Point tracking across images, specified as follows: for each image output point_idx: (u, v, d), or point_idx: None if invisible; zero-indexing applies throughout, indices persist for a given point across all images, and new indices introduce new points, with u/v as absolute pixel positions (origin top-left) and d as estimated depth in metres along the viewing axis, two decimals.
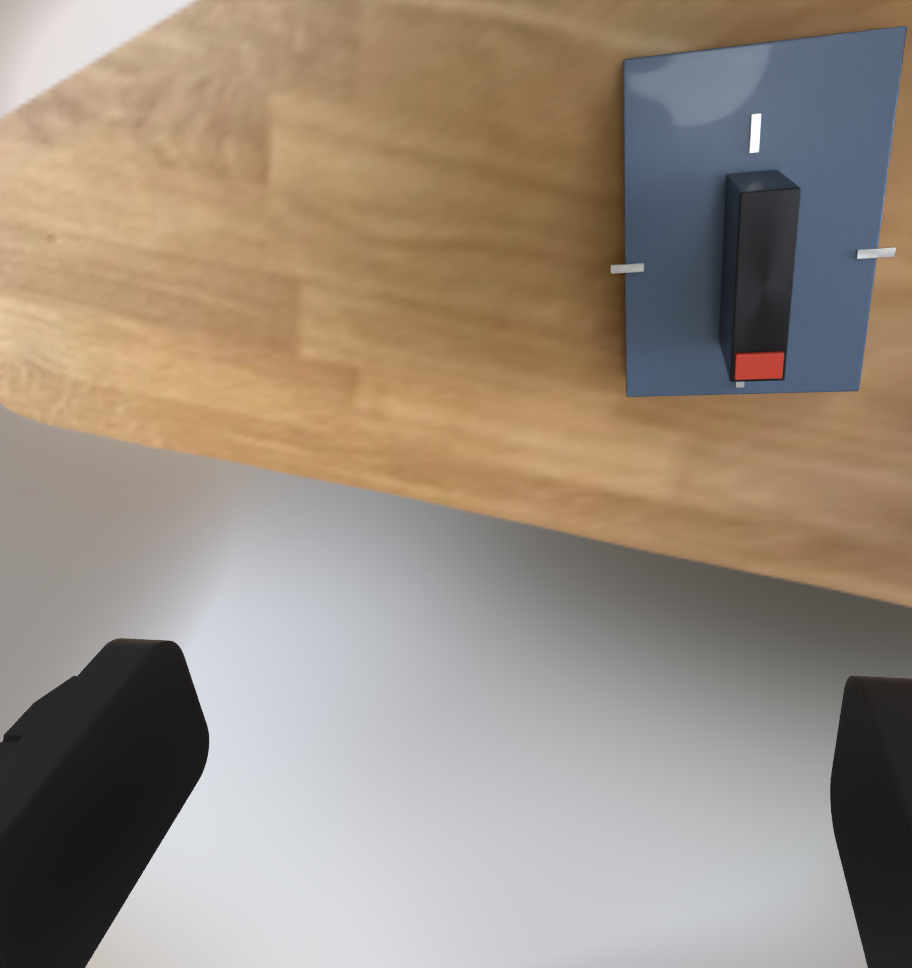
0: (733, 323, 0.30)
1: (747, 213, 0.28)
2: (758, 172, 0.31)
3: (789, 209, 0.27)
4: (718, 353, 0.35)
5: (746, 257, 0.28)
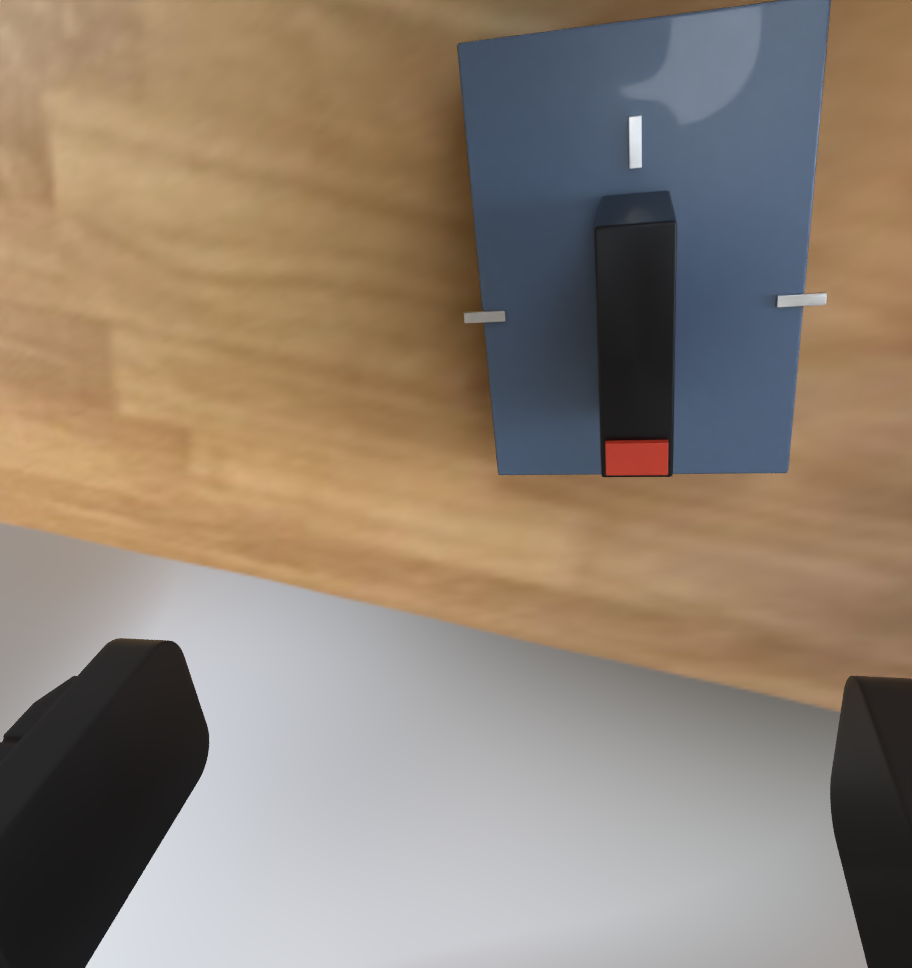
0: (599, 401, 0.22)
1: (606, 256, 0.20)
2: (641, 194, 0.23)
3: (662, 251, 0.20)
4: None
5: (609, 315, 0.21)
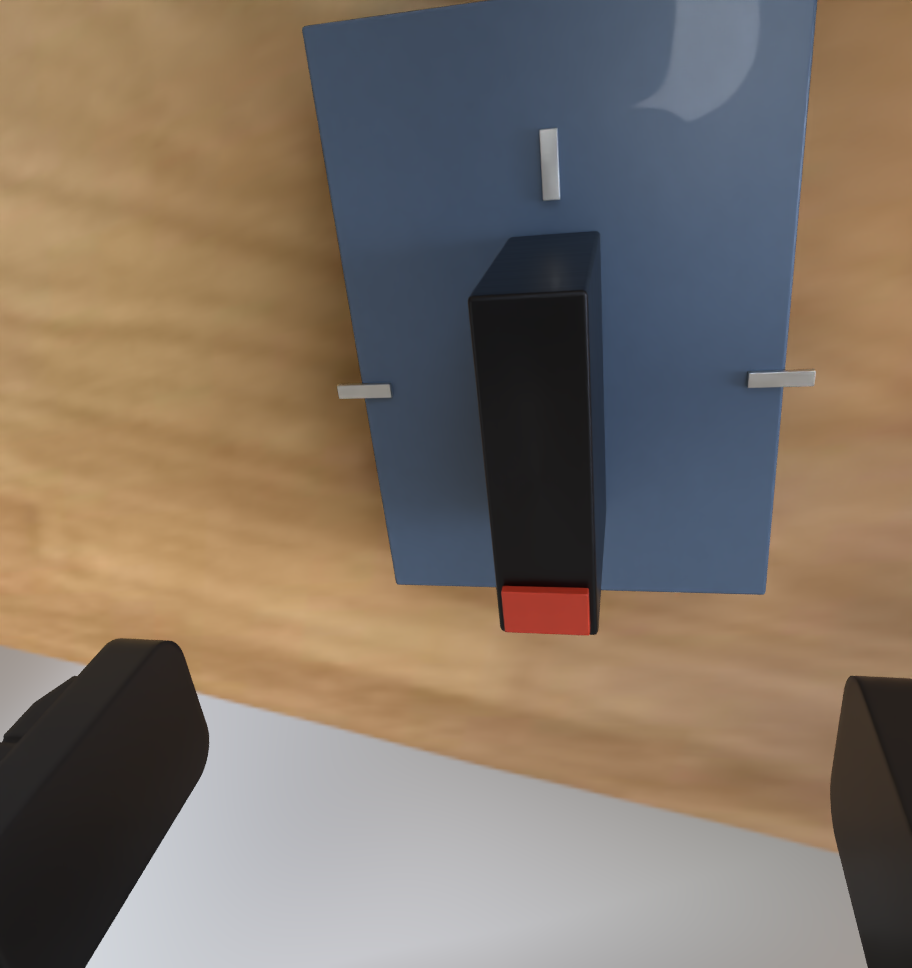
0: (492, 534, 0.15)
1: (486, 338, 0.13)
2: (559, 236, 0.17)
3: (568, 333, 0.13)
4: None
5: (497, 421, 0.14)
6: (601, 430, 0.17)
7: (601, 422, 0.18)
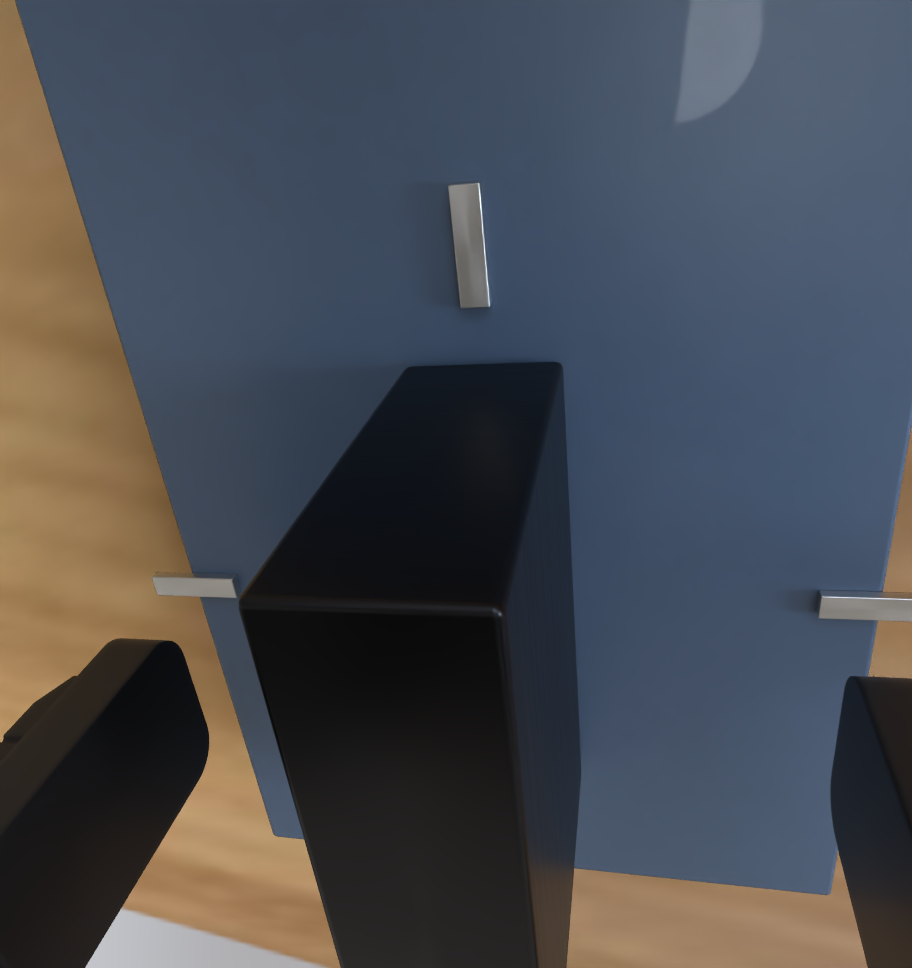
0: None
1: (287, 679, 0.06)
2: (490, 372, 0.09)
3: (464, 686, 0.06)
4: None
5: (329, 818, 0.07)
6: (566, 702, 0.10)
7: (567, 685, 0.10)
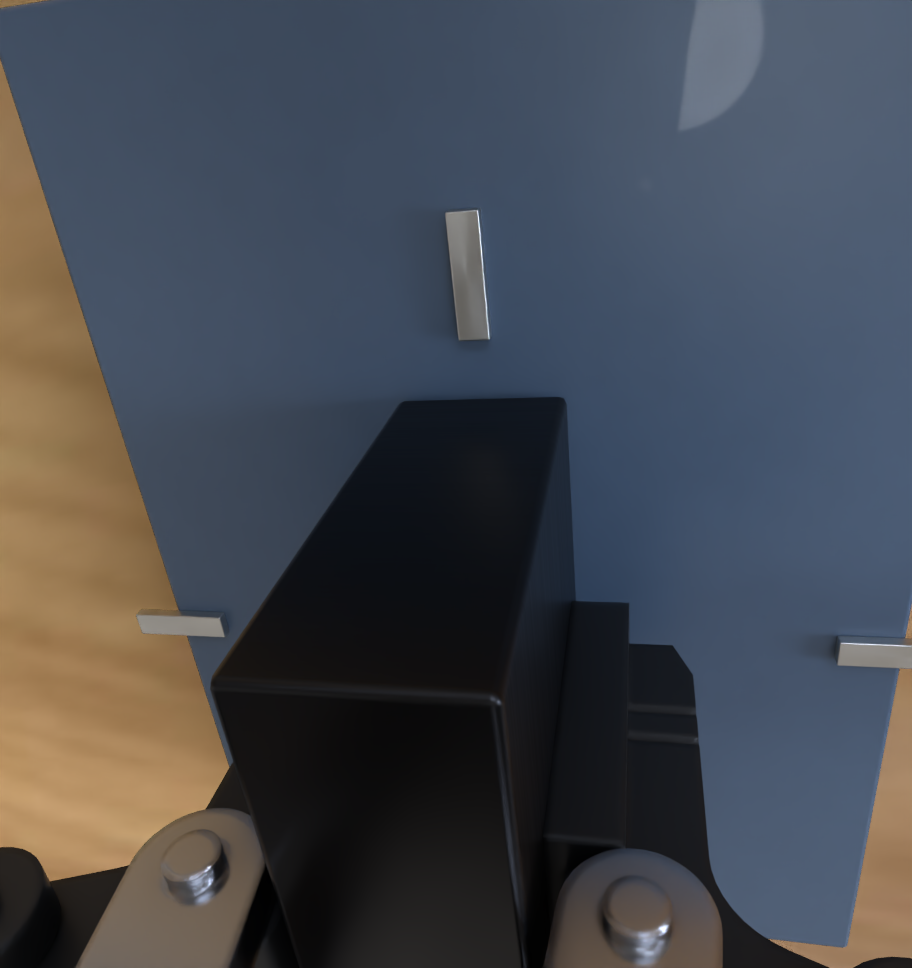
0: None
1: (264, 766, 0.05)
2: (489, 409, 0.09)
3: (459, 778, 0.05)
4: None
5: (313, 908, 0.06)
6: None
7: None
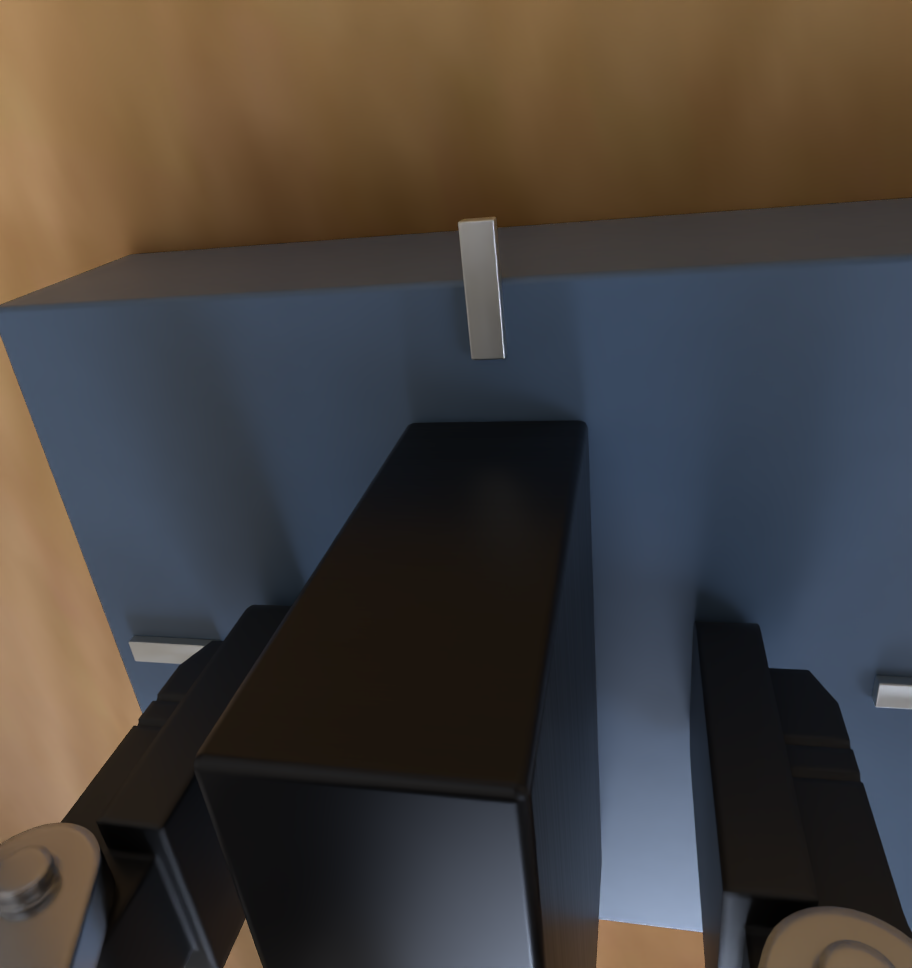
0: None
1: (255, 853, 0.05)
2: (504, 433, 0.08)
3: (476, 875, 0.05)
4: (220, 594, 0.11)
5: None
6: (589, 804, 0.09)
7: (590, 784, 0.09)
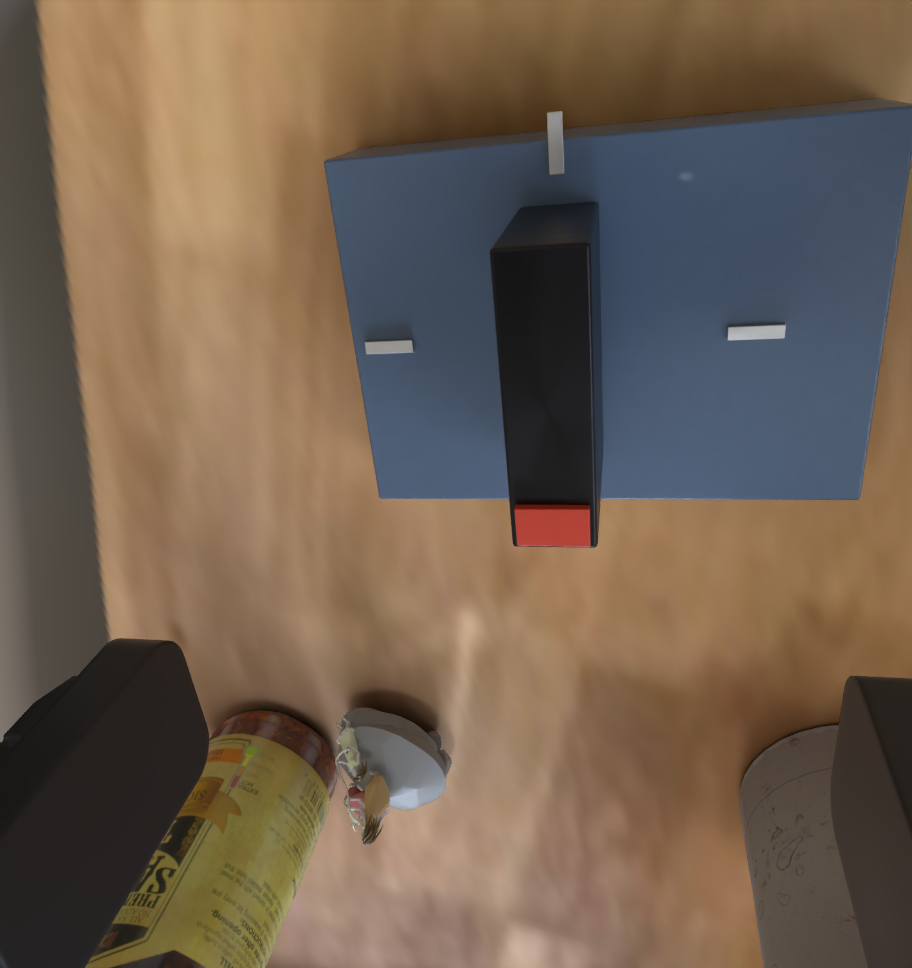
0: (507, 458, 0.18)
1: (505, 284, 0.16)
2: (564, 205, 0.19)
3: (574, 279, 0.16)
4: (416, 310, 0.22)
5: (513, 356, 0.17)
6: (599, 376, 0.20)
7: None
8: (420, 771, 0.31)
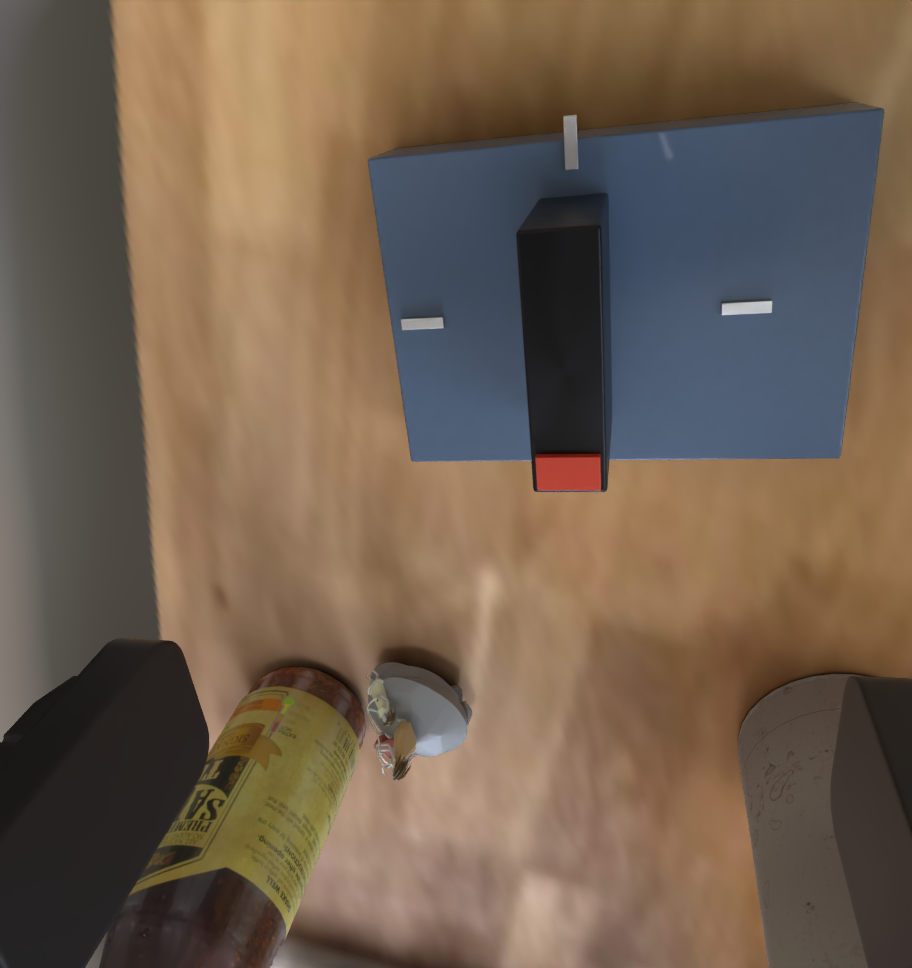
0: (529, 413, 0.21)
1: (529, 261, 0.19)
2: (578, 197, 0.22)
3: (587, 256, 0.19)
4: (447, 291, 0.25)
5: (535, 323, 0.20)
6: (609, 345, 0.23)
7: (609, 340, 0.23)
8: (444, 718, 0.34)
